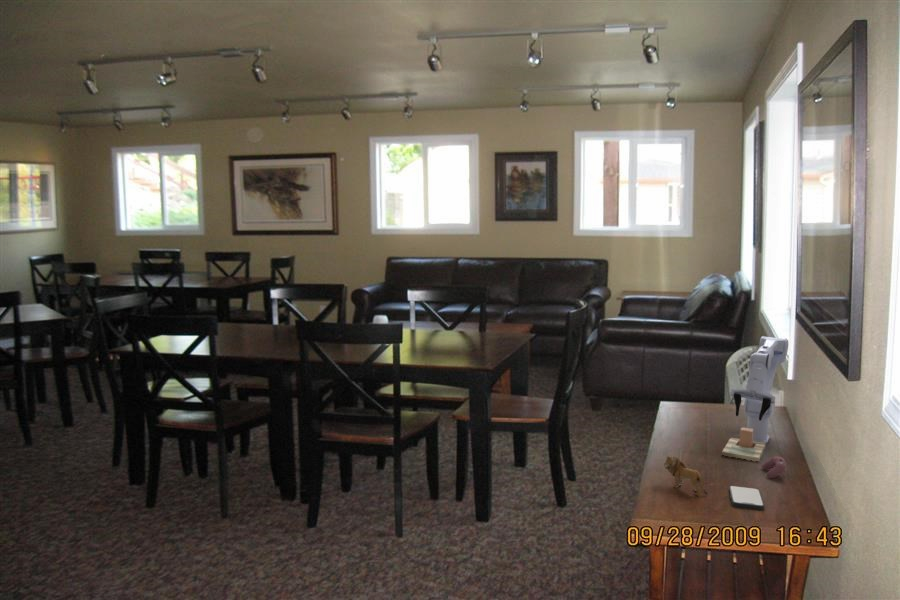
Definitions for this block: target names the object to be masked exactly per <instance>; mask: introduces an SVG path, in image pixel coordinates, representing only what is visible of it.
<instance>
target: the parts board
mask: <svg viewBox="0 0 900 600" xmlns="http://www.w3.org/2000/svg"><path fill="white" fill-rule="evenodd" d="M739 440H740V438H737V437H736V438H734V437H730V438H729V439H728V441H727V443H726V444H725V447H724V448H723V449H722V451H721V456H722V455H726V456H731V457H736V458H735V459H737V458H742V459H741V460H743V459H746V460H745V461H750V460H752V461H751V462H756V461H759V462H760V460H761V458H762V456H763V454H764V451H765V449H766V444H767V443H763V442H756V441H753V444H752V448H751V447H744V446H739ZM731 457H730V458H731Z"/></svg>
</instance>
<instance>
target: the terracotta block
mask: <svg viewBox="0 0 900 600" xmlns="http://www.w3.org/2000/svg"><path fill="white" fill-rule="evenodd" d="M753 431H754V429H750V428H747V427H742V426H741V428H740V430H739V439H740V440H739V445H738V446H744V447H751V448H753V447H752V444H753Z"/></svg>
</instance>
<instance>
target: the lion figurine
mask: <svg viewBox="0 0 900 600" xmlns="http://www.w3.org/2000/svg"><path fill="white" fill-rule="evenodd" d="M663 467H664V469H665V470H666V471H668V472H669V473H670V475H671V476H672V477H674V483H675V484H674V485H673V488H675V489H676V488H679V486H682V484H683V480H684V481H688V482H689V481H690V482H691V483H690V484H691V485H692V487H693V488H694V489H693V491H694V492H695V493H694V496H700V493H701V492H702V493H703V494H705V495H707V496H708V495H709V493H708V492H707V491H706V490H704V486H703V482H702V476H701V473H700V472H699V471H698V470H696V469H691V468H688V467H686V465H685V464H684V462H683V461H681V460H680V459H679V458H678V457H676V456H674V455H669V456H666V459H665V462H664V463H663ZM700 489H701V492H700Z"/></svg>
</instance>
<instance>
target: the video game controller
mask: <svg viewBox="0 0 900 600" xmlns="http://www.w3.org/2000/svg"><path fill="white" fill-rule="evenodd" d="M761 469H762V470H763V469H764V470H763V471H767V473H766V477H767V478H768V479H775V478H776V477H779V476H781V474H783V473H785V472H786V471H787V464H786V461H785V459H784V458H783V457H781V456H777V455H775V456H773V457H771V458H770V459H769V460H767V461H765V462H764V463H763V464H762V466H761Z"/></svg>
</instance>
